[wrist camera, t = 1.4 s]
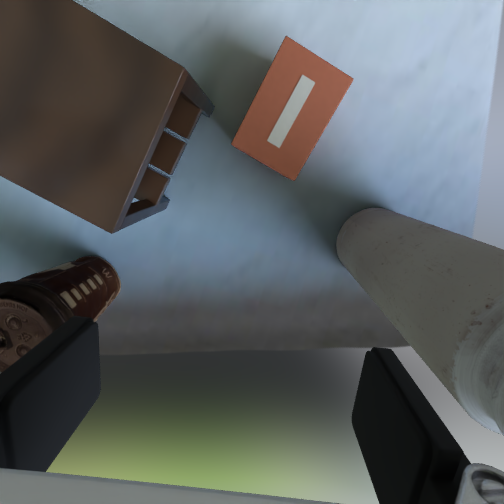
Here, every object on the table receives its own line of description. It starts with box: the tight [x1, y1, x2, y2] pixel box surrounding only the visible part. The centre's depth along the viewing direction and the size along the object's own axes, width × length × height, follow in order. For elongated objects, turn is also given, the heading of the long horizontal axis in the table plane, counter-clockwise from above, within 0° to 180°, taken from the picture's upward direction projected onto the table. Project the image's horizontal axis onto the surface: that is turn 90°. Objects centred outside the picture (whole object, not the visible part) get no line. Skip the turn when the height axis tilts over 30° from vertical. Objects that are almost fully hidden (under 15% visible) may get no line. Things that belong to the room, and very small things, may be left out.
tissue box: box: [231, 36, 353, 181], centre depth 28 cm, size 6×9×7 cm
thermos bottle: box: [336, 208, 504, 435], centre depth 21 cm, size 8×8×28 cm
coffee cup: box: [0, 256, 121, 372], centre depth 31 cm, size 9×8×13 cm
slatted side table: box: [0, 0, 215, 234], centre depth 26 cm, size 18×12×13 cm, turn 61°
